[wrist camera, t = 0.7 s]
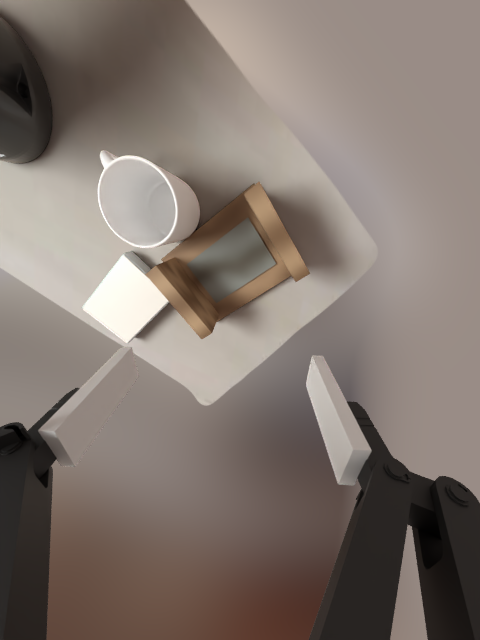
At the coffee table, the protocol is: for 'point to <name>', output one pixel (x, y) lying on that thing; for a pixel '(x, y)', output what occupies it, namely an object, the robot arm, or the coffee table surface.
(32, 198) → the coffee table surface
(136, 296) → the white rectangular block
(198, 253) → the cradle
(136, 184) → the mug
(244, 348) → the coffee table surface
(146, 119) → the coffee table surface
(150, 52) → the coffee table surface
